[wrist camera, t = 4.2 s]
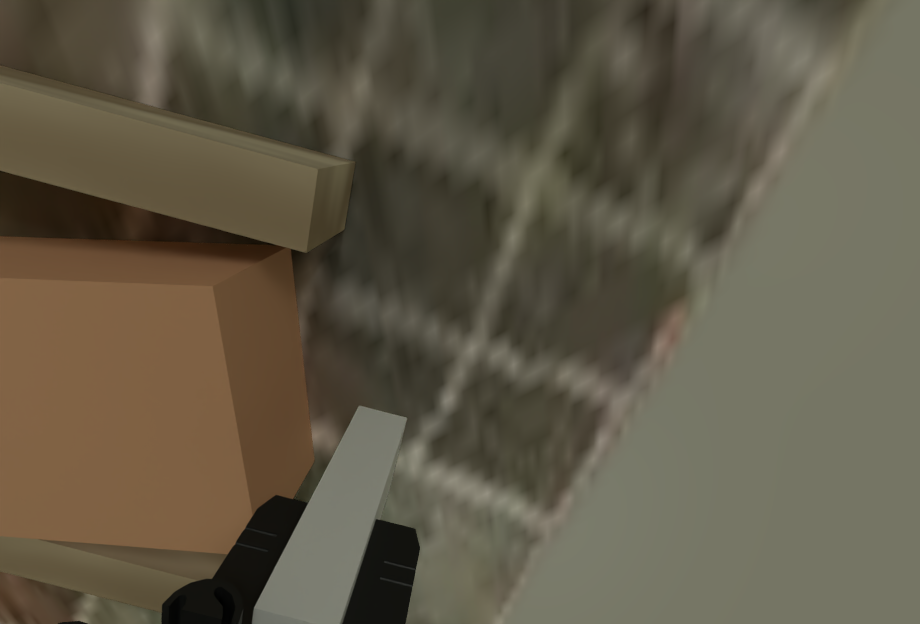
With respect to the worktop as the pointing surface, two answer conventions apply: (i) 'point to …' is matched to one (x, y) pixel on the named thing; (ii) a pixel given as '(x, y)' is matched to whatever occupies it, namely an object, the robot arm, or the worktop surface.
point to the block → (147, 390)
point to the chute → (173, 194)
